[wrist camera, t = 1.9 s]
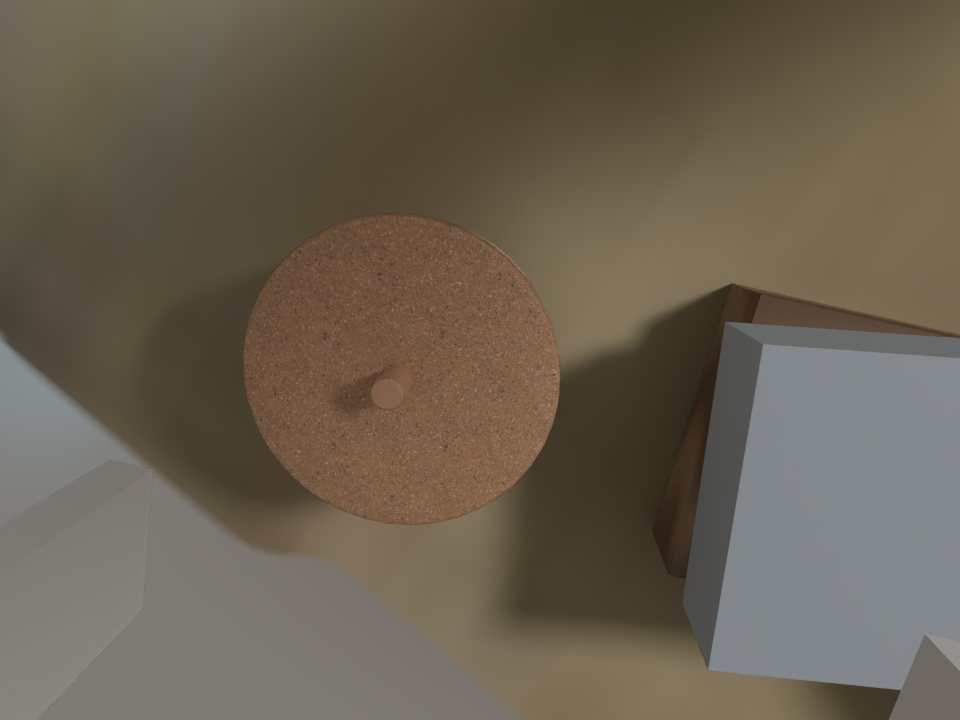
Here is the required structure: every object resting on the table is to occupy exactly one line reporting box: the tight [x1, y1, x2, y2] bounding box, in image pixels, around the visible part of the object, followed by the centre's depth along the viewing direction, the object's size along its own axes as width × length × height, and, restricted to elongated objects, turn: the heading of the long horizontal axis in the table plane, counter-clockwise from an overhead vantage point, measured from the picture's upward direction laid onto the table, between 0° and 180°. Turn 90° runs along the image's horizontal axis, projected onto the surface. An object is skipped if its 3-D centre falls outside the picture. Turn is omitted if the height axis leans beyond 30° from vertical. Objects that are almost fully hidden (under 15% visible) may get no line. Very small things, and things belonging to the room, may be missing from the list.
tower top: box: [682, 322, 960, 690], centre depth 23 cm, size 12×12×4 cm
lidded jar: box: [243, 214, 560, 525], centre depth 24 cm, size 11×11×9 cm
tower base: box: [653, 283, 960, 578], centre depth 27 cm, size 12×12×4 cm
